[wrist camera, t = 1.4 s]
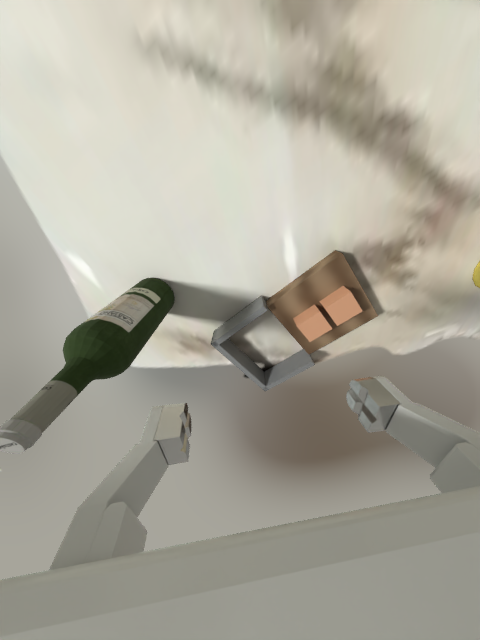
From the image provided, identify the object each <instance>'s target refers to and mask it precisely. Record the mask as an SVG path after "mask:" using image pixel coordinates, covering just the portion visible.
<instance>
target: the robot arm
mask: <svg viewBox="0 0 480 640" xmlns="http://www.w3.org/2000/svg"><path fill="white" fill-rule="evenodd" d="M350 387H351V389H350V390H349V391H348V392H347V396H346V397H347V402H348V405H349V407H350V408H351V409H352V411H353V412H355V413H357V414H358V417H359V418H358V419H359V421H360V422H361V423H362V425H363V426H364V428H365V429H366V430H367V432H376V431H384V430H386V432H387V433H388V434H390V435H391V436H392V437H394V438H395V439H397V440H398V441H399V442H401V443H402V444H403V445H405V446H406V447H408V448H409V449H410V450H412V451H413V452H414V453H416V454H418V455H419V456H420V457H421V458H423V459H424V460H426V461H427V462H428V463H430V464H431V465H432V466H434V467H435V470H434V471H433V472H432V473H431V474H430V479H431V480H432V482H433V483H434V484H435V485H436V487H437V488H438V489H439V490H440V491H441V494H436V495H431V496H426V497H421V498H416V499H411V500H405V501H401V502H395V503H390V504H385V505H380V506H375V507H370V508H365V509H359V510H354V511H349V512H344V513H339V514H334V515H329V516H325V517H319V518H313V519H308V520H304V521H298V522H294V523H288V524H283V525H278V526H273V527H268V528H262V529H257V530H252V531H247V532H242V533H237V534H232V535H227V536H222V537H217V538H212V539H206V540H201V541H196V542H191V543H186V544H181V545H176V546H171V547H165V548H161V549H155V550H150V551H145V552H143V551H144V546H145V541H146V535H147V530H146V529H145V527H144V526H143V525H142V524H141V522H140V521H139V520H138V518H137V517H138V515H139V514H140V512H141V511H142V509H143V507H144V505H145V504H146V502H147V501H148V499H149V497H150V496H151V494H152V493H153V491H154V489H155V487H156V486H157V484H158V483H159V481H160V479H161V478H162V476H163V474H164V473H165V471H166V469H167V468H168V465H171V464H177V463H182V462H188V458H189V449H190V448H189V447H190V444H189V441H188V438H189V437H190V436H191V416H190V414H189V413H188V405H187V403H180V404H171V405H162V406H155V407H152V409H151V410H150V413H149V416H148V419H147V422H146V425H145V428H144V431H143V434H142V438H141V441H140V443H139V444H136V445H135V446H134V447H133V448H132V449H131V450H130V451H129V453H128V454H127V455H126V456H125V457H124V458H123V459H122V460H121V461H120V462H119V463H118V464H117V466H116V467H115V468H114V469H113V470H112V471H111V472H110V473H109V474H108V475H107V477H106V478H105V479H104V480H103V481H102V482H101V483H100V484H99V485H98V486H97V488H96V489H95V490H94V491H93V492H92V493H91V494H90V495H89V497H87V499H86V500H85V501H84V502H83V503H82V504H81V505H80V506H79V507H78V509H77V511H76V513H75V515H74V518H73V520H72V522H71V524H70V526H69V528H68V531H67V533H66V535H65V537H64V539H63V541H62V543H61V545H60V548H59V550H58V552H57V554H56V556H55V559H54V561H53V563H52V565H51V567H50V569H49V570H48V571H43V572H38V573H33V574H28V575H23V576H18V577H12V578H8V579H2V580H0V640H480V433H479V432H477V431H475V430H473V429H471V428H469V427H466V426H464V425H462V424H460V423H458V422H456V421H454V420H452V419H450V418H448V417H445V416H443V415H441V414H439V413H437V412H435V411H433V410H431V409H429V408H427V407H424V406H422V405H420V404H418V403H416V402H413V403H412V402H411V401H410V400H409V399H408V398H407V397H406V396H405V395H404V394H403V393H402V392H400V390H398V389H397V388H396V387H395V386H394V385H393V384H392V383H391V382H390V381H389V380H388V379H387V378H385V377H383V376H377V377H368V378H362V379H355V380H352V381H351V382H350Z"/></svg>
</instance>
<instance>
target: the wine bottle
mask: <svg viewBox="0 0 480 640" xmlns="http://www.w3.org/2000/svg"><path fill="white" fill-rule="evenodd" d="M173 304H174V294H173V291H172V290H171V288H170V287H169V286H168V285H167V284H166V283H165V282H163V281H162V280H160V279H156V278H147V279H144V280H142V281H140V282H139V283H138V284H136V285H135V286H134V287H132V288H131V289H129V290H128V291H127V292H125V293H124V294H122V295H121V296H120V297H118V298H117V299H115V300H114V301H113V302H111V303H110V304H109V305H107V306H106V307H104V308H103V309H102V310H100V311H99V312H97V313H96V314H95V315H93V316H92V317H90V318H89V319H88V320H87V321H85V322H84V323H82V324H81V325H79V326H78V327H77V328H75V329H74V330H73V331H72V332H71V333H70V334H69V335H68V336H67V337H66V340H65V343H64V347H63V353H64V358H65V361H66V364H65V366H64V368H63V369H62V370H61V371H60V372H59V373H58V374H57V375H56V376H55V377H54V378H53V379H52V380H51V381H50V382H48V383H47V384H46V385H45V386H44V387H43V388H42V389H41V390H40V391H39V392H38V393H37V394H36V395H35V396H34V397H33V398H32V399H31V400H30V401H29V402H28V403H27V404H26V405H25V406H24V407H23V408H21V410H20V411H18V412H17V413H16V414H15V415H14V416H13V417H12V418H11V419H10V420H7V421H6V422H5V423H4V424H2V425H1V426H0V450H1V451H3V452H8V453H12V454H20V453H23V452H24V451H25V450H26V449H27V448H30V447H31V446H33V445H34V443H35V442H36V441H37V440H38V439H39V438H40V436H41V435H42V432H43V431H44V430H45V429H46V428H47V427H48V426H49V425H50V424H51V423H52V422H53V421H54V420H55V419H56V418H57V417H58V416H59V415H60V414H61V412H62V411H63V410H64V409H65V408H66V407H67V406H68V405H69V404H70V403H71V402H72V401H73V399H75V398H76V397H77V395H78V394H79V393H80V392H81V391H82V390H83V389H84V388H85V387H86V386H87V385H88V384H89V383H90V382H91V381H93V380H95V379H107V378H111V377H114V376H117V375H119V374H121V373H122V372H124V371H125V370H126V369H127V368H128V367H129V366H130V365H131V363H132V362H133V361H134V359H135V358H136V356H137V355H138V354H139V352H140V351H141V350H142V348H143V347H144V345H145V344H146V343H147V341H148V340H149V338H150V337H151V336H152V334H153V333H154V331H155V330H156V329H157V327H158V326H159V324H160V323H161V322H162V320H163V319H164V317H165V316H166V315H167V313H168V312H169V310H170V309H171V308H172V306H173Z"/></svg>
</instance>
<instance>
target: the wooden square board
mask: <svg viewBox="0 0 480 640" xmlns="http://www.w3.org/2000/svg"><path fill="white" fill-rule="evenodd" d="M342 286H344V287H345V288H347V289H348V290H349V291H351V293H352V294H353V296H354V298H355V299H356V301H357V303H358V304H359V306H360V308H361V309H362V312H361V313H359V314H357V315H356V316H354V317H352V318H350V319H349V320H347V321H345V322H344V323H342V324H340V325H338V326H337V325H336V324H335V322H334V321H333V320H332V319H331V317H330V316H329V314H328V313H327V312H326V310H325V309H324V307H323V306H322V305H321V303H320V302H319V301H321V300H322V299H324V298H325V297H327V296H328V295H330V294H331V293H333V292H334V291H336V290H337V289H339V288H341V287H342ZM266 303H267V307H268V308H269V309H270V311H271V312H272V313H273V314H274V315H275V316H276V318H277V319H278V320H279V321H280V322H281V323H282V324H283V326H284V327H285V328H286V329H287V330H288V331H289V333H290V334H291V335H292V336H293V337H294V338H295V339H296V341H297V342H298V343H299V344H300V345H301V346H302V348H303V349H304V350H305V351H306V352H307V353H308V354H311V353H313V352H314V351H316V350H318V349H320V348H321V347H323V346H325V345H327V344H329V343H330V342H332V341H334V340H336V339H338V338H339V337H341V336H343V335H345V334H346V333H348V332H350V331H352V330H354V329H355V328H357V327H359V326H361V325H362V324H364V323H366V322H368V321H370V320H371V319H373V318H375V317H377V316H378V315H377V313H376V311H375V310H374V308H373V306H372V304H371V303H370V301H369V299H368V297H367V296H366V294H365V292H364V290H363V289H362V287H361V285H360V283H359V282H358V280H357V278H356V276H355V275H354V273H353V271H352V269H351V268H350V266H349V264H348V262H347V261H346V259H345V257H344V255H343V254H342V253H340V252H338V251H336V250H335V251H334V252H332V253H331V254H330V255H328V256H327V257H325V258H324V259H323V260H321V261H320V262H319V263H317V264H316V265H314V266H313V267H312V268H310V269H309V270H308V271H306V272H305V273H303V274H302V275H301V276H299V277H298V278H297V279H295V280H294V281H293V282H291V283H290V284H288V285H287V286H286V287H284V288H283V289H282V290H280V291H279V292H277V293H276V294H275V295H273V296H272V297H271V298H269V299H268V300H267V301H266ZM314 304H315V305H316V307H317V308H318V310H319V311H320V312H321V314H322V315H323V316H324V318H325V319H326V321H327V322H328V323H329V325H330V326H331V327H332V330H330V331H328V332H326V333H325V334H323V335H321V336H320V337H318V338H316V339H314V340H313V341H311V342H309V341H308V339H307V338H306V337H305V336H304V335H303V333H302V332H301V331H300V330H299V328H298V327H297V326H296V324H295V322H294V319H293V318H295V317H296V316H298V315H299V314H301V313H302V312H304V311H305V310H307V309H308V308H310V307H311V306H313V305H314Z"/></svg>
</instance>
